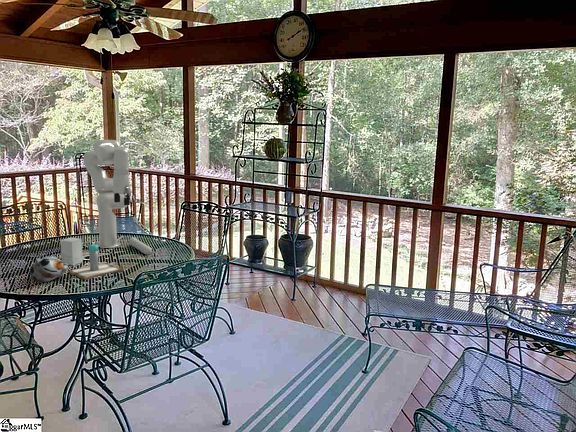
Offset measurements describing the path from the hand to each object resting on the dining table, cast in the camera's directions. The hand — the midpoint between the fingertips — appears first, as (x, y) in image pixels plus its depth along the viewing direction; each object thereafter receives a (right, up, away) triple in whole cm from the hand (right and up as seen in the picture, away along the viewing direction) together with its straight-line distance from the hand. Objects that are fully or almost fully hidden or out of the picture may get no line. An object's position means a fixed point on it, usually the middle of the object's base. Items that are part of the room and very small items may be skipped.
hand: (122, 203), depth 261 cm
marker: (-6, -33, -24) cm, 41 cm away
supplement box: (-23, -31, -10) cm, 40 cm away
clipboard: (-5, -34, -23) cm, 41 cm away
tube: (+4, -27, +20) cm, 34 cm away
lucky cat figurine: (-22, -36, -35) cm, 55 cm away
